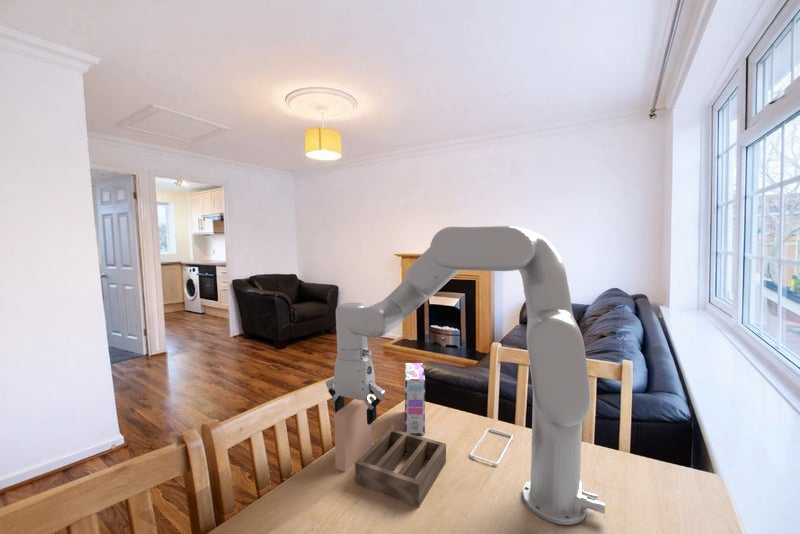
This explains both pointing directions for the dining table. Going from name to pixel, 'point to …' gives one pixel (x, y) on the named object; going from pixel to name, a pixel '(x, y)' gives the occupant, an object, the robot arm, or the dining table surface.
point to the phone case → (481, 441)
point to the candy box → (414, 399)
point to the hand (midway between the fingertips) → (355, 418)
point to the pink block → (351, 434)
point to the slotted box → (403, 486)
